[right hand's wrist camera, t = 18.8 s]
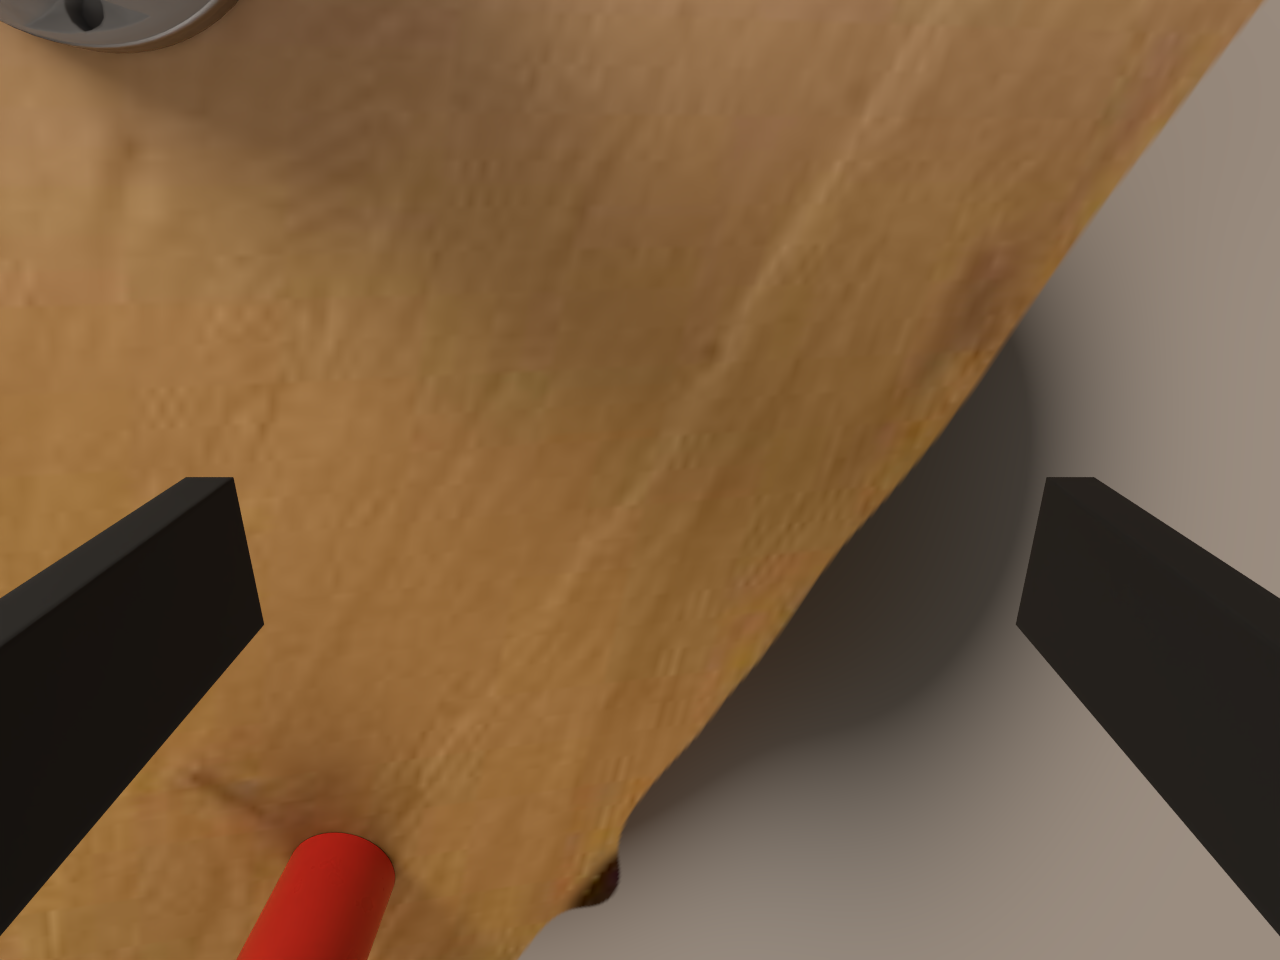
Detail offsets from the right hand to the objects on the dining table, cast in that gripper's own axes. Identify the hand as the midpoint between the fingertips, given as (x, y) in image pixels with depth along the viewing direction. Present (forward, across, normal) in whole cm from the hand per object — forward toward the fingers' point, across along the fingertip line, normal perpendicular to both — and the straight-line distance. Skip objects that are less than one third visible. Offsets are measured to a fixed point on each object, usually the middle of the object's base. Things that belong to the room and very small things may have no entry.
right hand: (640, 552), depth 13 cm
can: (+22, -18, -32) cm, 43 cm away
